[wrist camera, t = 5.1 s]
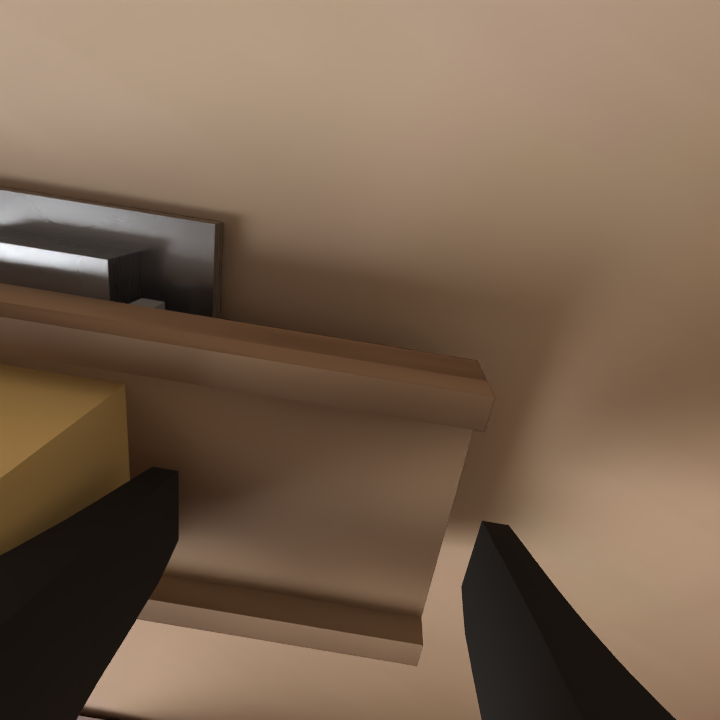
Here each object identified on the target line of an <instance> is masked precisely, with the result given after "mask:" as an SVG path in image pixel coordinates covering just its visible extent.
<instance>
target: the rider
mask: <svg viewBox="0 0 720 720" xmlns="http://www.w3.org/2000/svg"><path fill="white" fill-rule="evenodd" d="M128 481H130V471H129V451H128V431H127V412H126V392H125V384H120V383H114V382H108V381H101V380H95V379H89V378H83V377H77V376H71V375H65V374H59V373H53V372H46V371H40V370H34V369H28V368H22V367H16V366H10V365H4V364H0V555H2V554H4V553H6V552H8V551H10V550H12V549H13V548H15V547H17V546H19V545H21V544H22V543H24V542H26V541H28V540H30V539H31V538H33V537H35V536H37V535H39V534H40V533H42V532H44V531H46V530H48V529H49V528H51V527H53V526H55V525H57V524H58V523H60V522H62V521H64V520H66V519H67V518H69V517H71V516H72V515H74V514H76V513H77V512H79V511H81V510H82V509H84V508H86V507H87V506H89V505H91V504H92V503H94V502H96V501H97V500H99V499H101V498H102V497H104V496H105V495H107V494H109V493H110V492H112V491H113V490H115V489H117V488H118V487H120V486H121V485H123V484H125V483H126V482H128Z"/></svg>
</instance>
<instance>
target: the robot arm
mask: <svg viewBox="0 0 720 720" xmlns="http://www.w3.org/2000/svg"><path fill="white" fill-rule="evenodd" d="M178 540H179V471H176V470H170V469H164V468H158V467H151V468H149V469H148V470H146V471H144V472H143V473H141V474H139V475H138V476H136V477H134V478H133V479H131V480H130V481H128V482H126V483H125V484H123V485H121V486H120V487H118V488H117V489H115V490H113V491H112V492H110V493H109V494H107V495H105V496H104V497H102V498H101V499H99V500H97V501H96V502H94V503H92V504H91V505H89V506H87V507H86V508H84V509H82V510H81V511H79V512H77V513H76V514H74V515H72V516H71V517H69V518H67V519H66V520H64V521H62V522H60V523H58V524H57V525H55V526H53V527H51V528H49V529H48V530H46V531H44V532H42V533H40V534H39V535H37V536H35V537H33V538H31V539H30V540H28V541H26V542H24V543H22V544H21V545H19V546H17V547H15V548H13V549H12V550H10V551H8V552H6V553H4V554H2V555H0V720H103V719H97V718H91V717H85V716H79V714H80V712H81V710H82V708H83V707H84V705H85V703H86V702H87V700H88V698H89V696H90V695H91V693H92V691H93V689H94V688H95V686H96V684H97V682H98V681H99V679H100V678H101V676H102V674H103V673H104V671H105V669H106V668H107V666H108V665H109V663H110V661H111V660H112V658H113V657H114V655H115V653H116V652H117V650H118V648H119V647H120V645H121V644H122V642H123V640H124V639H125V637H126V636H127V634H128V632H129V631H130V629H131V627H132V626H133V624H134V623H135V621H136V619H137V618H138V616H139V614H140V613H141V611H142V610H143V608H144V606H145V605H146V603H147V601H148V600H149V598H150V596H151V595H152V593H153V591H154V590H155V588H156V586H157V585H158V583H159V581H160V579H161V577H162V575H163V573H164V571H165V569H166V567H167V565H168V562H169V560H170V558H171V556H172V554H173V551H174V549H175V547H176V545H177V543H178ZM462 601H463V615H464V626H465V635H466V641H467V646H468V651H469V657H470V662H471V667H472V673H473V678H474V683H475V688H476V693H477V698H478V703H479V708H480V713H481V718H482V720H676V719H675V718H674V717H673V716H672V715H671V714H670V713H669V712H668V711H667V710H666V709H665V708H664V707H663V706H662V705H661V704H660V703H659V702H658V701H657V700H656V699H655V698H654V697H653V696H652V695H651V694H650V693H649V692H648V691H647V690H646V689H645V688H644V687H643V686H642V685H641V684H640V683H639V682H638V681H637V680H636V679H635V678H634V677H633V676H632V675H631V674H630V673H629V672H628V670H627V669H626V668H625V667H624V666H623V665H622V664H621V663H620V662H619V661H618V660H617V659H616V658H615V656H614V655H613V654H612V653H611V652H610V651H609V650H608V649H607V647H606V646H605V645H604V644H603V643H602V642H601V641H600V639H599V638H598V637H597V636H596V635H595V634H594V633H593V631H592V630H591V629H590V628H589V627H588V626H587V625H586V623H585V622H584V621H583V620H582V619H581V617H580V616H579V615H578V614H577V613H576V611H575V610H574V609H573V608H572V606H571V605H570V604H569V603H568V602H567V600H566V599H565V598H564V597H563V595H562V594H561V593H560V592H559V590H558V589H557V588H556V587H555V585H554V584H553V583H552V581H551V580H550V579H549V578H548V576H547V575H546V574H545V572H544V571H543V570H542V568H541V567H540V566H539V565H538V563H537V562H536V561H535V559H534V558H533V557H532V555H531V554H530V553H529V551H528V550H527V549H526V547H525V546H524V545H523V543H522V542H521V541H520V539H519V538H518V537H517V535H516V534H515V533H514V532H513V530H512V529H511V528H510V526H509V525H504V524H498V523H492V522H486V521H482V523H481V526H480V529H479V532H478V535H477V539H476V542H475V545H474V548H473V551H472V555H471V558H470V561H469V564H468V567H467V571H466V574H465V577H464V580H463V583H462Z"/></svg>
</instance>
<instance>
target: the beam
mask: <svg viewBox="0 0 720 720" xmlns="http://www.w3.org/2000/svg"><path fill="white" fill-rule="evenodd" d="M0 364H4V365H10V366H16V367H22V368H28V369H34V370H40V371H46V372H53V373H59V374H65V375H71V376H77V377H83V378H89V379H95V380H101V381H108V382H114V383H120V384H125V392H126V412H127V431H128V451H129V471H130V480H131V479H133V478H134V477H136V476H138V475H139V474H141V473H143V472H144V471H146V470H148V469H149V468H151V467H158V468H164V469H170V470H176V471H179V540H178V543H177V545H176V547H175V549H174V551H173V554H172V556H171V558H170V560H169V562H168V565H167V567H166V569H165V571H164V573H163V575H162V577H161V579H160V581H159V583H158V585H157V586H156V588H155V590H154V591H153V593H152V595H151V596H150V598H149V600H148V601H147V603H146V605H145V606H144V608H143V610H142V611H141V613H140V614H139V616H138V618H137V619H140V620H146V621H151V622H157V623H163V624H169V625H175V626H181V627H187V628H193V629H199V630H205V631H211V632H217V633H223V634H229V635H235V636H241V637H247V638H253V639H259V640H265V641H271V642H277V643H282V644H288V645H294V646H300V647H306V648H312V649H318V650H324V651H330V652H336V653H342V654H348V655H354V656H360V657H366V658H372V659H378V660H384V661H390V662H396V663H402V664H407V665H413V666H417V665H418V661H419V658H420V654H421V651H422V647H423V637H422V622H421V617H422V613H423V609H424V606H425V602H426V599H427V595H428V591H429V588H430V584H431V581H432V577H433V573H434V570H435V566H436V563H437V559H438V555H439V552H440V548H441V545H442V541H443V538H444V534H445V530H446V527H447V523H448V520H449V516H450V512H451V509H452V505H453V502H454V498H455V494H456V491H457V487H458V484H459V480H460V476H461V473H462V469H463V466H464V462H465V458H466V455H467V451H468V448H469V444H470V440H471V437H472V433H473V430H476V431H482V432H485V430H486V426H487V423H488V419H489V416H490V413H491V409H492V406H493V402H494V399H495V397H494V394H493V392H492V390H491V388H490V386H489V384H488V382H487V380H486V378H485V376H484V374H483V371H482V369H481V367H480V365H479V363H478V361H476V360H470V359H464V358H458V357H452V356H446V355H440V354H433V353H427V352H421V351H415V350H409V349H403V348H396V347H390V346H384V345H378V344H372V343H366V342H360V341H353V340H347V339H341V338H335V337H329V336H323V335H317V334H310V333H304V332H298V331H292V330H286V329H280V328H274V327H267V326H261V325H255V324H249V323H243V322H237V321H230V320H224V319H218V318H212V317H206V316H200V315H194V314H187V313H181V312H175V311H169V310H165V302H163V301H156V300H150V299H144V298H141V299H139V300H136V301H134V302H132V303H130V304H126V303H120V302H114V301H107V300H101V299H95V298H89V297H83V296H77V295H71V294H64V293H58V292H52V291H46V290H40V289H34V288H28V287H21V286H15V285H9V284H3V283H0Z"/></svg>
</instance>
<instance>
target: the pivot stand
mask: <svg viewBox="0 0 720 720" xmlns="http://www.w3.org/2000/svg"><path fill="white" fill-rule="evenodd" d="M222 242H223V222H218V221H212V220H206V219H199V218H193V217H187V216H181V215H174V214H168V213H162V212H156V211H149V210H143V209H137V208H131V207H124V206H118V205H112V204H106V203H99V202H93V201H87V200H81V199H74V198H68V197H62V196H56V195H49V194H43V193H37V192H31V191H25V190H18V189H12V188H6V187H0V283H3V284H9V285H15V286H21V287H28V288H34V289H40V290H46V291H52V292H58V293H64V294H71V295H77V296H83V297H89V298H95V299H101V300H107V301H114V302H120V303H126V304H130V303H132V302H134V301H136V300H139V299H141V298H144V299H150V300H156V301H163V302H165V310H169V311H175V312H181V313H187V314H194V315H200V316H206V317H212V318H218V319H220V302H221V272H222Z"/></svg>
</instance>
